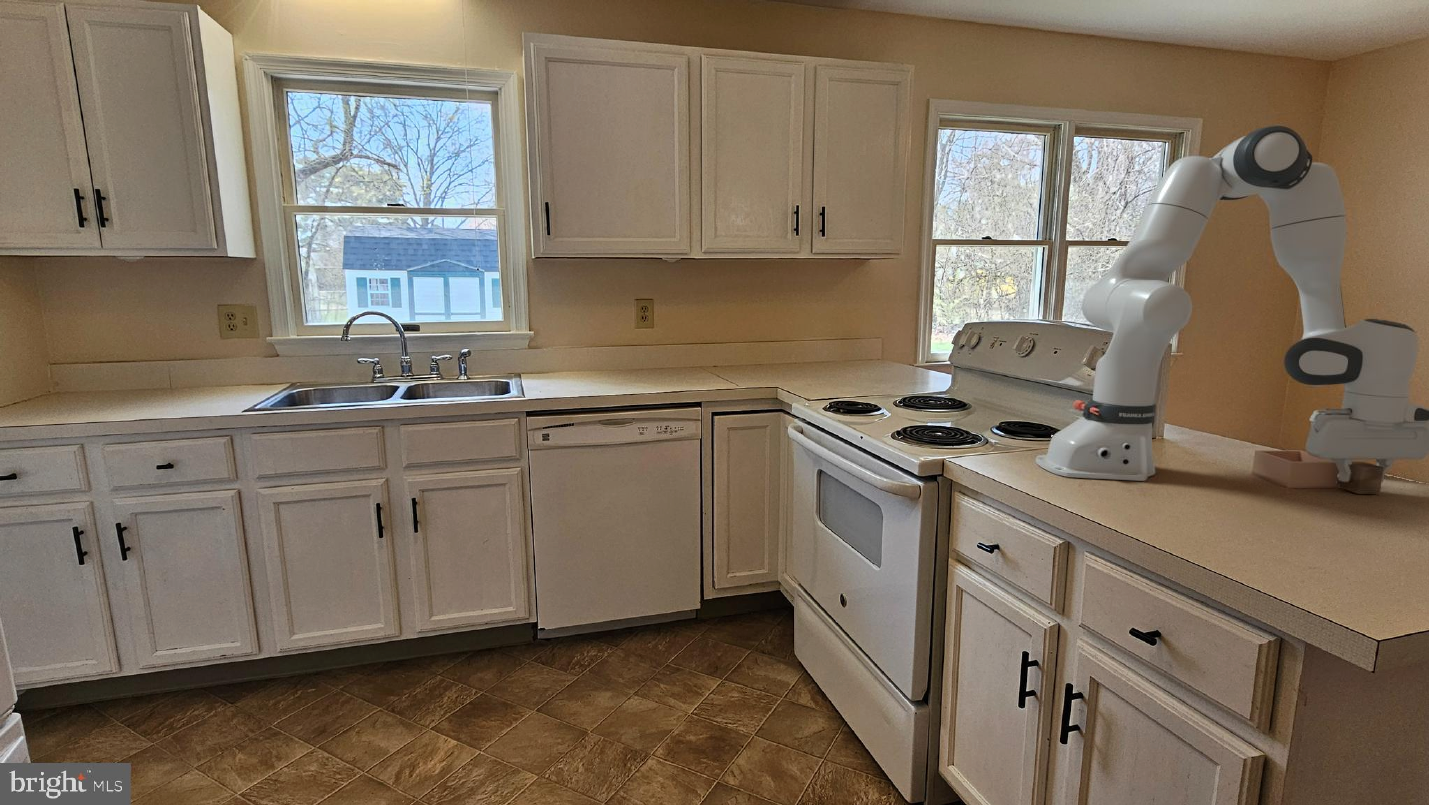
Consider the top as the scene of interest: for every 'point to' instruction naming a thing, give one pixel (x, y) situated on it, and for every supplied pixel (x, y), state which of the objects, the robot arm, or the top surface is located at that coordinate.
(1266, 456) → the pink open square tray
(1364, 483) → the walnut block
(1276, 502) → the top surface
